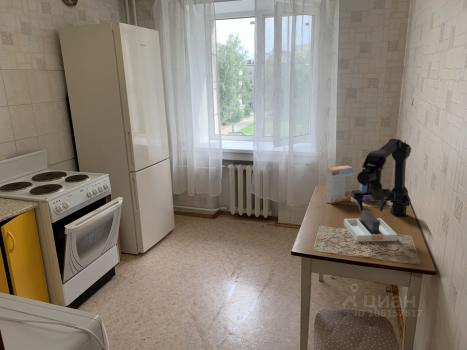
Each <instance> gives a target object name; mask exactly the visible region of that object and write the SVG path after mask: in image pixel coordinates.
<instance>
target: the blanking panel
mask: <svg viewBox="0 0 467 350" xmlns="http://www.w3.org/2000/svg"><path fill="white" fill-rule="evenodd" d="M360 218H361V223H362V225H363V226H364V227H365V228H366V229H367V230H368V231H369V233H370V234H379V225H380V221H379V220H378V219H377V217H375V215H374V214H373V213H371V211H370V210H368V209H362V212H361V216H360Z"/></svg>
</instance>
